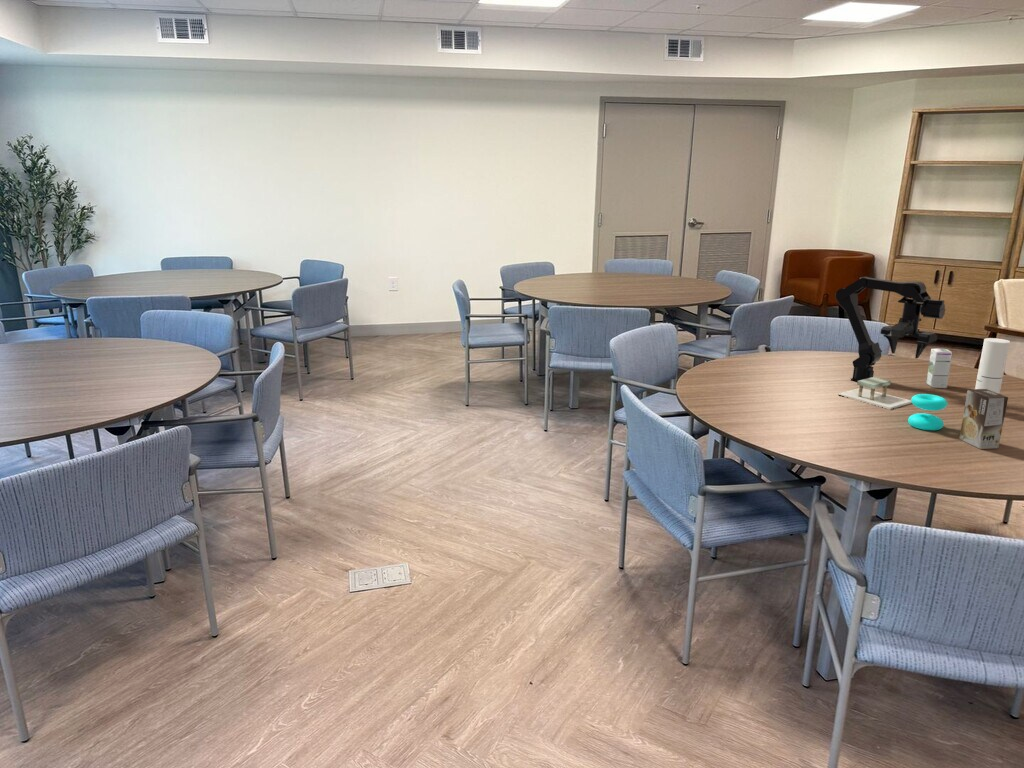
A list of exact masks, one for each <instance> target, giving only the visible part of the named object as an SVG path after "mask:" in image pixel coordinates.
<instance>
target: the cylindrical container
mask: <svg viewBox="0 0 1024 768" xmlns="http://www.w3.org/2000/svg"><path fill="white" fill-rule="evenodd" d="M1010 344H1011V341H1010V340H1008V339H1004V338H996V337H994V338H993V337H986V338H984V339H983V344H982V345H983V346H982V349H981V355H980V359H979V365H978V370H977V371H978V372H977V376H976V382H975V387H974V389H987V390H990V391H993V392H995V393H998V394H1000V393H1001V388H1002V385H1003V378H1004V374H1005V368H1006V363H1007V359H1008V354H1009V349H1010Z"/></svg>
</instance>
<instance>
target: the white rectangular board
mask: <svg viewBox="0 0 1024 768" xmlns="http://www.w3.org/2000/svg"><path fill="white" fill-rule="evenodd" d="M870 392H871V389H869V388H865V387H863V390H862V397H858V393H859V387H858V388H854V389H850V390H847V391H843V392H842V391H841V392H839V393H837V395H838V394H839V395H843V396H846V397H849V398H852V399H856V400H859V401H858V402H860V401H862V402H861V403H863V402H866V403H865V404H867V403H869V404H868V405H871V404H873V405H872V406H874V405H876V406H875V407H878V406H879V407H878V408H882V407H883V408H882V409H885V408H886V409H887V410H894V409H897V408H899V407H904V406H907V405H910V404H913V403H912V401H911V399H906V398H902V397H898V396H895V395H890V394H887V393H886V397H883V396H882V393H883V392H880V391H879V392H878V391H875V393H874V400H870V394H871V393H870ZM849 398H848V399H849ZM852 399H851V400H852ZM856 400H855V401H856ZM893 408H894V409H893Z"/></svg>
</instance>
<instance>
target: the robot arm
mask: <svg viewBox="0 0 1024 768" xmlns="http://www.w3.org/2000/svg"><path fill="white" fill-rule="evenodd" d="M865 289H870V290H871V289H872V290H878V291H885V292H890V293H895V294H898V295H900V296H902V298H901V299H898V301H897V302H898V303H900V304H903V309H902V314H901V317H899V319H898V322H897V323H895V324H894V325H885V326H882V327H881V329H880V334H881V335H883V337H884V338H886V339H887V341H888V344H889V347H890V351H891V354H895V353H896V350H897V346H898V341H899V339H900V338H904V337H905V336H906V337H910V338H917V339H916V340H917V341H916V345H917V347H916V352H915V359H918V358H919V357H920V356H921V355H922V353H923V352H924V351H925V349H926V348H927V346H929V344H931V343H934V342H936V341H937V340H938V335H937V333H936V332H930V331H924V332H920V328H919V323H920V322H922V318H921V316H922V317H923V318H928V319H929V318H930V319H937V320H942V319H943V318H944V316H945V313H946V306H945V305H946V304H945V300H942V299H939V300H938V299H932V298H931V296H930V295H929V292H927V287H926V285H925V283H924V282H922V281H894V280H887V279H882V278H881V279H880V278H873V277H869V276H862V277H859V278H858V279H857V280H856V281H854V282H853V283H852V282H851V284H849V285H847V286H845V287H843V288H840V289H838V290H837V291H836V292H835V300H836V301H837V304H838V305H839V306H840V307H841V308H842V309H843V310H844V311H845V313H846V315H847V317H848V318H847V319H848V321H849V323H850V326H851V328H852V331H853V334H854V336H855V338H856V341H857V344H858V347H857V348H858V349H857V353H858V357H857V358H856V359H854V360H853V361H852V367H853V373H852V377H851V378H850V379H851V380H850V381H853V380H855V381H854V382H857V381H859V380H863V379H867V378H871V377H874V375H875V373H874V372H875V371H874V366H875V365H876V363H877V362H878V361H880V360H881V358H882V352H883V350H882V349H881V347H880V343H879V342H874V341H873V340H872V339H871V337H870V334H869V332H868V329H867V326H866V324H865V322H864V319H863V317H862V314H861V311H860V309H859V296H858V295H859V294H860V293H861V292H862V291H864V290H865Z"/></svg>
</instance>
